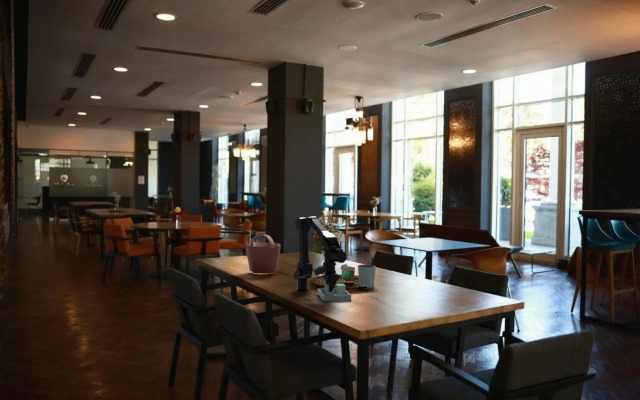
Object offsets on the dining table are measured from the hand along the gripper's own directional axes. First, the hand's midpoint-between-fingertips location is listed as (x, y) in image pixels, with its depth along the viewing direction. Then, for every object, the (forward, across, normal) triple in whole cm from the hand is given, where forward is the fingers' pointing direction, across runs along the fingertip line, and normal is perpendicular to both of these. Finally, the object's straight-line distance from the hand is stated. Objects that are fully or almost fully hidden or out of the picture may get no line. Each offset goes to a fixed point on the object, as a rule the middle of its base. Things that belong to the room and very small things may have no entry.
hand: (329, 290), depth 260 cm
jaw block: (+3, 0, 0) cm, 3 cm away
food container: (+4, -37, +17) cm, 41 cm away
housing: (+4, 0, +2) cm, 4 cm away
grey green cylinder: (+4, -24, +26) cm, 36 cm away
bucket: (+4, -78, -28) cm, 83 cm away
